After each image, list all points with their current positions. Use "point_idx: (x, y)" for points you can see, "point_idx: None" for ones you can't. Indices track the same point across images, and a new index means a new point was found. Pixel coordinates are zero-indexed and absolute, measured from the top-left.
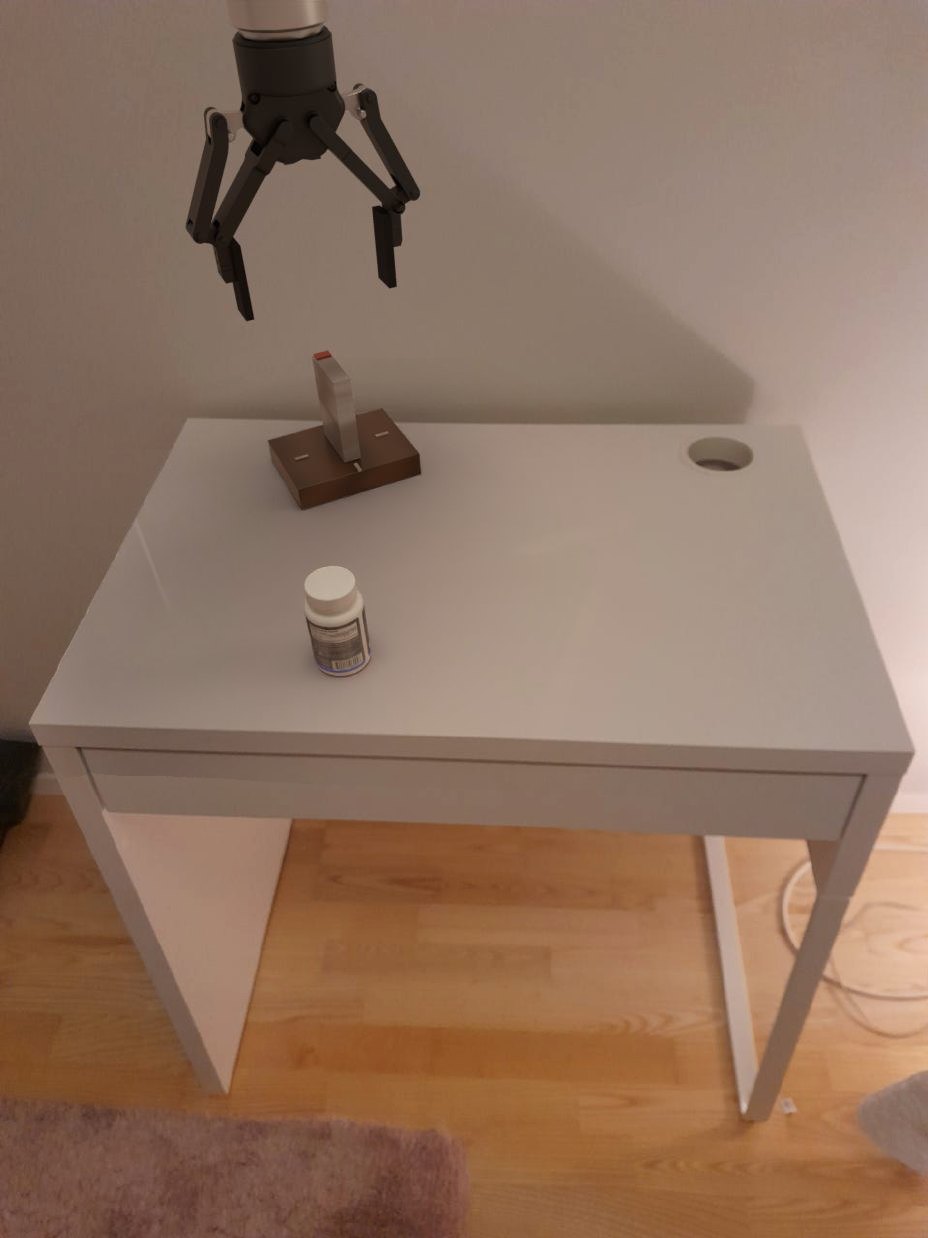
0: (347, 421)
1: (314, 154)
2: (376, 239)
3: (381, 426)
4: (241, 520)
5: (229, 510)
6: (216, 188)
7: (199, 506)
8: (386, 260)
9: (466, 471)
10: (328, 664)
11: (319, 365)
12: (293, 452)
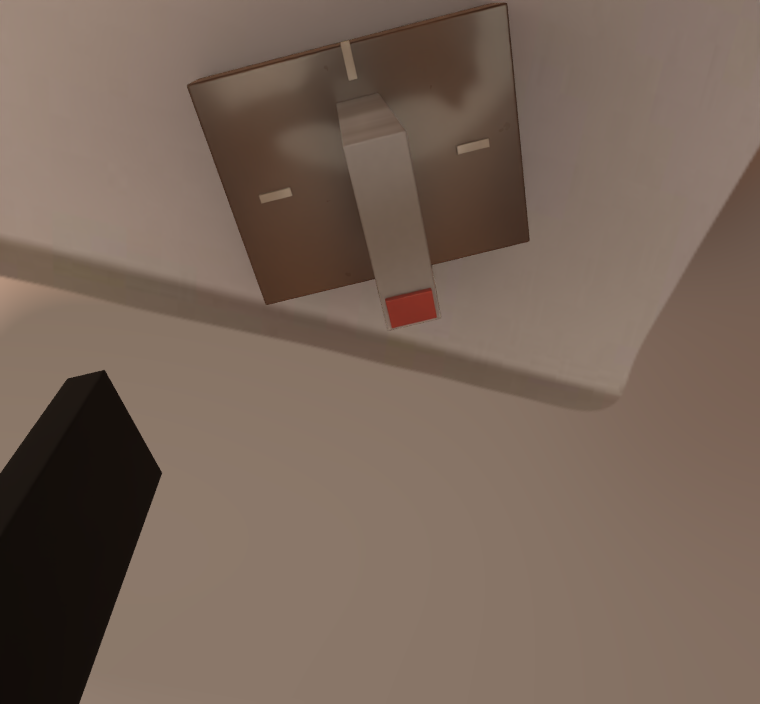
0: (363, 114)
1: None
2: (93, 615)
3: (274, 230)
4: (626, 4)
5: (639, 55)
6: None
7: (692, 91)
8: (55, 465)
9: (83, 57)
10: None
11: (428, 257)
12: (485, 176)
